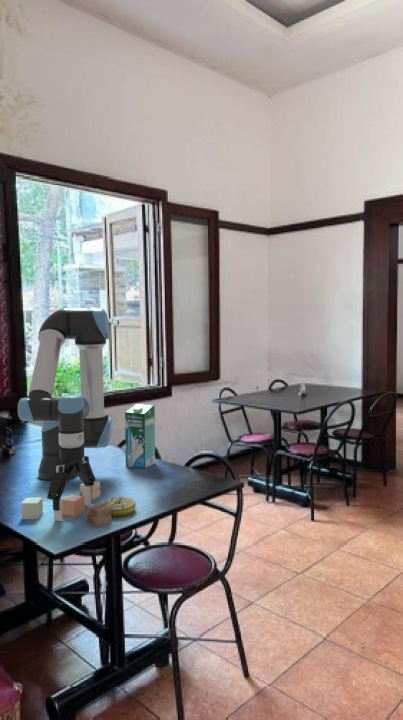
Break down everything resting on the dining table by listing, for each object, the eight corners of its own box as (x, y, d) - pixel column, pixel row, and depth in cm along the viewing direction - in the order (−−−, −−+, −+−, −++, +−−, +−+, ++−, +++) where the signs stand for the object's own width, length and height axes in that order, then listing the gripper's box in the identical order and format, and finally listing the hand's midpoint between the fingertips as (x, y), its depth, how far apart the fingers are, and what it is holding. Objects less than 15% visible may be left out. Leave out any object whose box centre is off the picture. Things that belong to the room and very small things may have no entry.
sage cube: (21, 519, 155) (20, 503, 155) (26, 513, 160) (26, 497, 160) (38, 519, 155) (37, 503, 155) (42, 513, 160) (42, 497, 160)
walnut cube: (87, 523, 152) (86, 507, 151) (100, 518, 156) (100, 502, 155) (98, 527, 148) (97, 511, 148) (111, 522, 152) (111, 506, 152)
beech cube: (79, 499, 172) (79, 484, 172) (86, 494, 177) (86, 480, 177) (93, 500, 171) (93, 486, 171) (100, 495, 176) (99, 481, 175)
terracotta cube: (61, 514, 158) (61, 499, 158) (71, 509, 163) (71, 494, 163) (74, 517, 156) (74, 501, 156) (84, 512, 161) (84, 496, 161)
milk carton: (125, 466, 211) (124, 406, 209) (136, 461, 219) (135, 403, 217) (145, 469, 207) (144, 407, 206) (155, 463, 216) (154, 404, 214)
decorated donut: (111, 504, 168) (111, 493, 167) (141, 508, 164) (140, 496, 164) (94, 515, 158) (94, 503, 158) (126, 520, 154) (125, 507, 154)
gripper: (54, 455, 145) (55, 529, 147) (105, 438, 168) (106, 501, 169) (33, 453, 148) (35, 524, 150) (86, 436, 171) (87, 498, 172)
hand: (73, 512), depth 159 cm, fingers open, 13 cm apart
